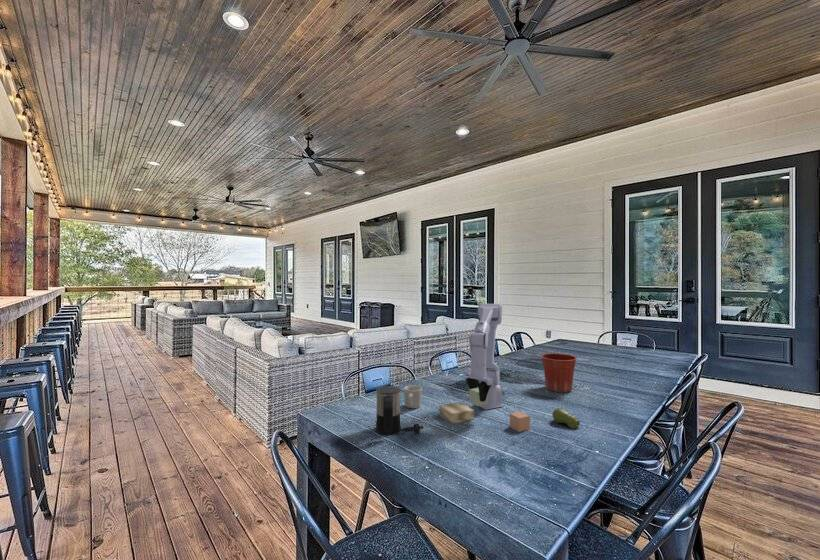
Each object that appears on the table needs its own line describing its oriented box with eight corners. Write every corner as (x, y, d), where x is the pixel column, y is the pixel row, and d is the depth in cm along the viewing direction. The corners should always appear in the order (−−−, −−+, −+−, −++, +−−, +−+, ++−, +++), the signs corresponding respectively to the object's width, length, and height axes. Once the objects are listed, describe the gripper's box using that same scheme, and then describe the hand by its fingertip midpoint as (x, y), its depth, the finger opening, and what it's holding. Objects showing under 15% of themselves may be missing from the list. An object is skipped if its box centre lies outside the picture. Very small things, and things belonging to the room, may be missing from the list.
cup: (419, 413, 151) (419, 393, 151) (400, 411, 153) (400, 392, 153) (423, 404, 162) (423, 385, 162) (405, 402, 163) (405, 384, 163)
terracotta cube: (520, 424, 140) (520, 411, 140) (529, 429, 135) (529, 415, 135) (509, 427, 138) (509, 413, 138) (519, 432, 133) (519, 418, 133)
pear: (558, 404, 145) (583, 416, 138) (556, 417, 146) (580, 429, 138) (550, 407, 142) (575, 419, 134) (548, 420, 143) (573, 433, 135)
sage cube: (479, 400, 147) (479, 387, 146) (487, 403, 142) (487, 390, 142) (469, 401, 144) (469, 389, 144) (477, 405, 140) (477, 392, 140)
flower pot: (533, 386, 188) (533, 354, 188) (557, 382, 195) (558, 352, 195) (559, 396, 173) (559, 361, 173) (584, 391, 180) (584, 358, 180)
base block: (460, 412, 153) (460, 402, 153) (474, 420, 144) (474, 410, 144) (439, 415, 149) (439, 405, 149) (451, 424, 140) (451, 414, 140)
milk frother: (372, 426, 138) (372, 386, 137) (412, 421, 143) (412, 382, 143) (383, 442, 124) (383, 398, 124) (427, 436, 130) (427, 393, 130)
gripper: (459, 360, 148) (458, 395, 148) (482, 369, 135) (481, 406, 135) (473, 359, 151) (473, 392, 151) (497, 366, 138) (497, 403, 138)
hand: (478, 398), depth 143 cm, fingers closed on sage cube, 5 cm apart
